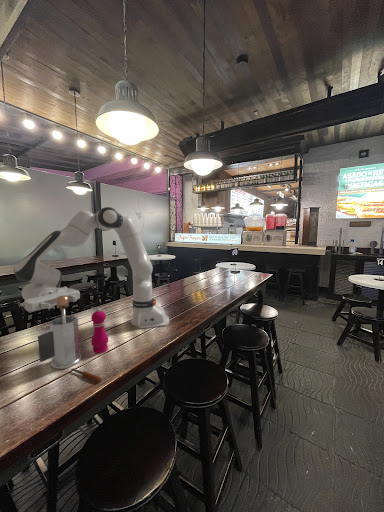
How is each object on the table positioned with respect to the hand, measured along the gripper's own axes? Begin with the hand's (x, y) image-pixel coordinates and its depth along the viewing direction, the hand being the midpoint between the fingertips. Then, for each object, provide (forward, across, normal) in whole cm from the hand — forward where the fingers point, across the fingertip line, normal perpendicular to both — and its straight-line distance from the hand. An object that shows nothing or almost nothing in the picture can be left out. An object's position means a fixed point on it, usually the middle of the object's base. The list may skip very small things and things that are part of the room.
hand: (63, 302), depth 87 cm
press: (0, -1, +26) cm, 26 cm away
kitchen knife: (+14, -2, +26) cm, 30 cm away
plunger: (-1, 0, +24) cm, 24 cm away
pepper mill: (+4, +13, +26) cm, 29 cm away
